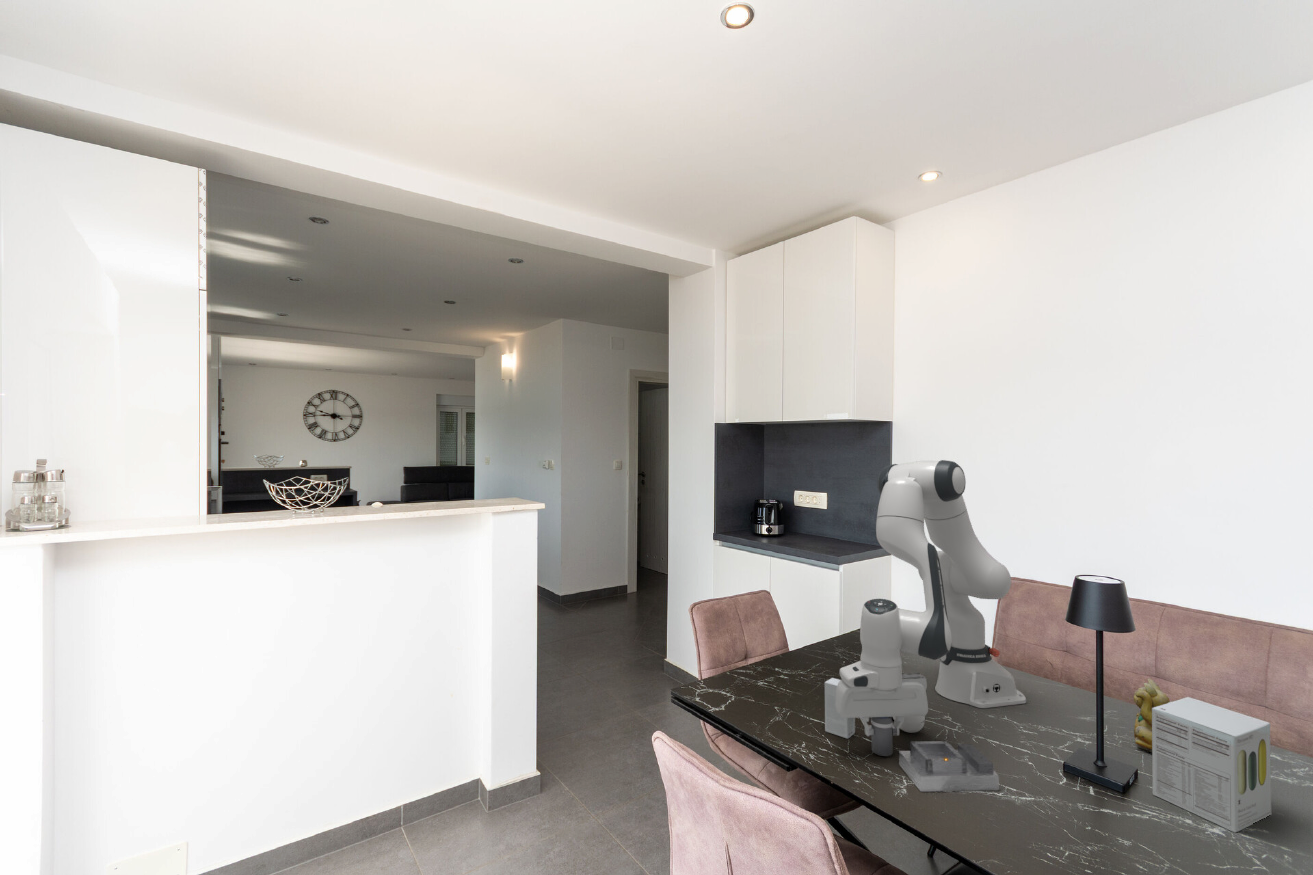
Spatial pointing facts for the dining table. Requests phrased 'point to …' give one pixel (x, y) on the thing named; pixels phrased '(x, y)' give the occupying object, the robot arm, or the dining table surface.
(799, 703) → the dining table surface
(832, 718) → the skincare box
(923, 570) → the robot arm
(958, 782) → the grey holder dock
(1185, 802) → the supplement box
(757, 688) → the dining table surface
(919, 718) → the white egg
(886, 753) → the lens
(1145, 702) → the decorative figurine
